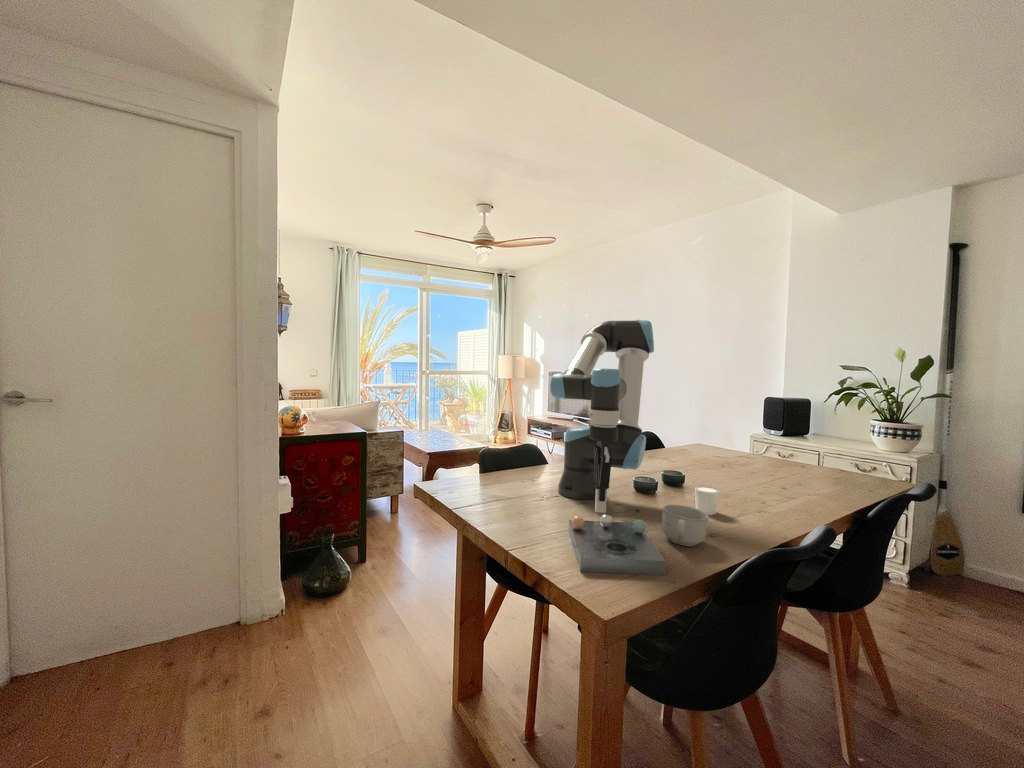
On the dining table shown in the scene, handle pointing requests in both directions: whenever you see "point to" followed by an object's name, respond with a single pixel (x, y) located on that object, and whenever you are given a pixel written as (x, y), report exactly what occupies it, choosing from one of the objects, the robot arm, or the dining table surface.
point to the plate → (615, 549)
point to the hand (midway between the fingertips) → (600, 511)
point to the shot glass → (706, 499)
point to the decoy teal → (639, 526)
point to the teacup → (684, 524)
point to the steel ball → (606, 520)
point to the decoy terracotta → (577, 522)
